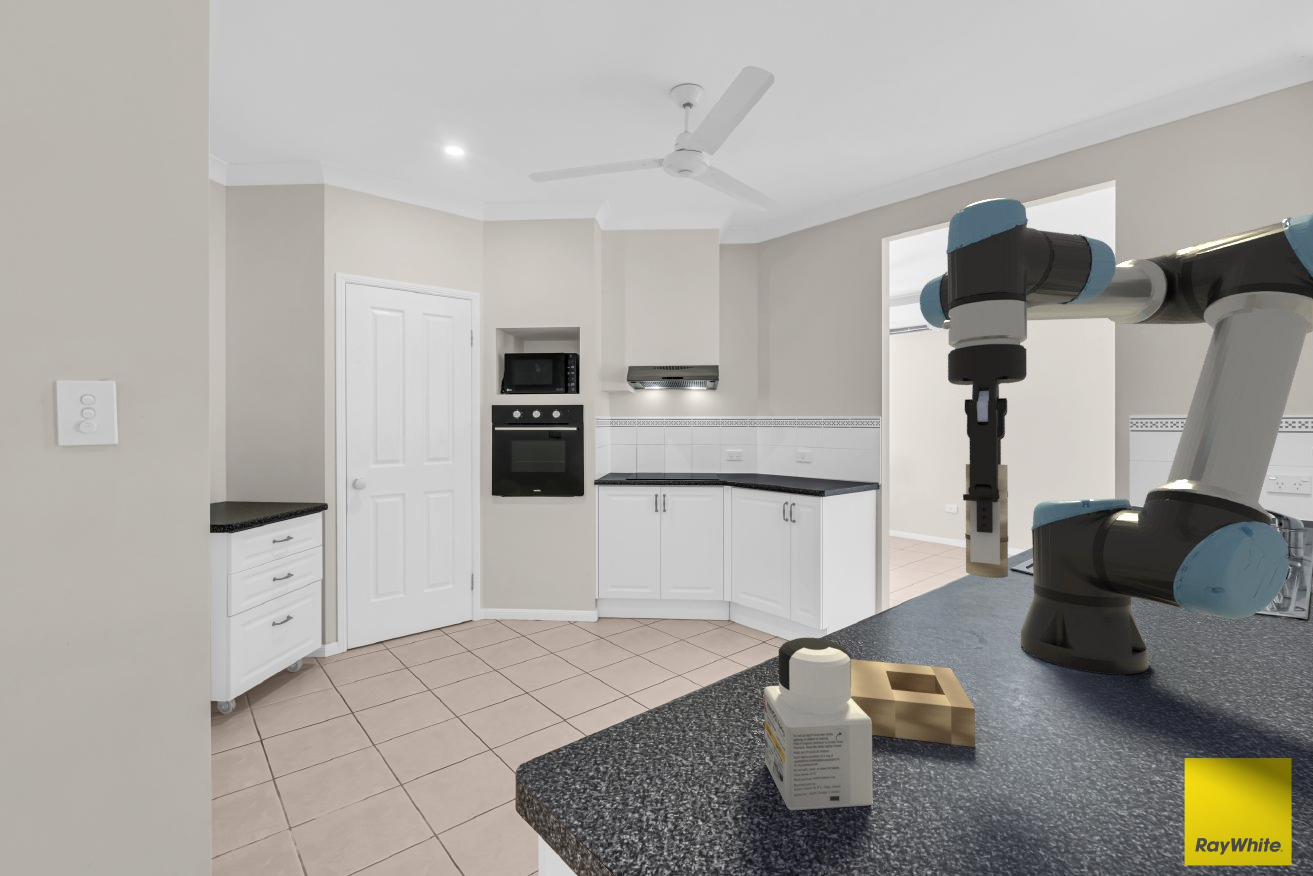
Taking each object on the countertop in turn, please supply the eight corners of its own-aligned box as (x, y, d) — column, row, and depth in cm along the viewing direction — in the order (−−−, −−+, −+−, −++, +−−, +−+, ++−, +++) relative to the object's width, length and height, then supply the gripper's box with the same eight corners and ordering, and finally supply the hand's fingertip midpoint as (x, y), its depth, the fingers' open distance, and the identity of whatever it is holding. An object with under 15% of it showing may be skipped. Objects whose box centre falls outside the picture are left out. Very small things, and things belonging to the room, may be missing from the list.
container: (763, 762, 57) (762, 632, 57) (838, 758, 58) (837, 629, 58) (788, 812, 49) (786, 662, 50) (874, 807, 50) (872, 658, 50)
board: (950, 700, 70) (950, 668, 70) (975, 747, 60) (974, 708, 60) (784, 683, 76) (784, 653, 76) (779, 723, 65) (779, 688, 65)
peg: (1008, 572, 64) (1008, 464, 64) (1007, 579, 60) (1007, 465, 60) (967, 567, 66) (966, 463, 66) (963, 574, 62) (963, 464, 62)
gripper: (956, 359, 72) (956, 544, 72) (938, 338, 58) (938, 568, 58) (1026, 354, 68) (1027, 550, 68) (1026, 330, 54) (1026, 578, 54)
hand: (986, 558), depth 63 cm, fingers closed on peg, 4 cm apart
